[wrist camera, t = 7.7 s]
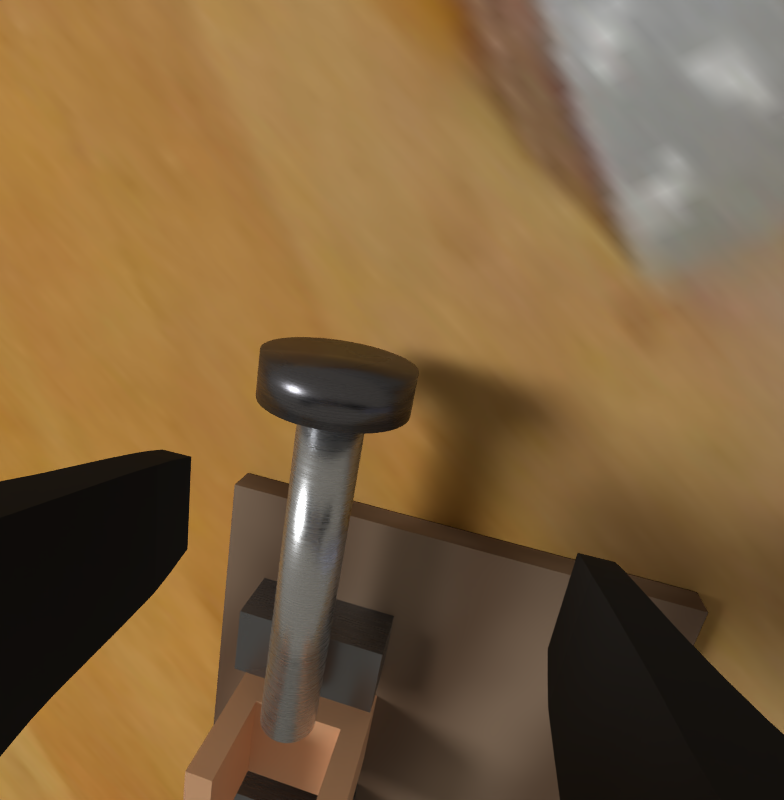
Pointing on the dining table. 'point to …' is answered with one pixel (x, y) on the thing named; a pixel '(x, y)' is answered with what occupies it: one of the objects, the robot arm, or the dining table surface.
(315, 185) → the dining table surface
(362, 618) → the supports
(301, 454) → the shaft
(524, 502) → the dining table surface
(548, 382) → the dining table surface
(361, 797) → the board
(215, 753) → the bracket
